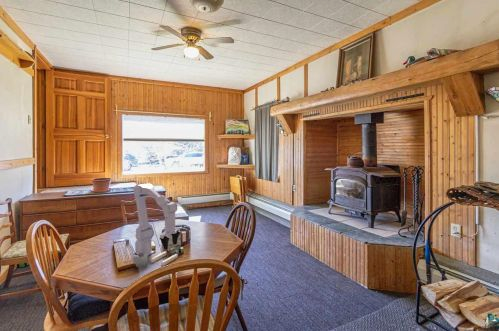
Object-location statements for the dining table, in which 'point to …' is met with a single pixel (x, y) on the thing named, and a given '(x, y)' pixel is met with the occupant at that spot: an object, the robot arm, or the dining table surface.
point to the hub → (141, 260)
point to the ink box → (170, 243)
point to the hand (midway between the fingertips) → (170, 246)
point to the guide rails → (163, 256)
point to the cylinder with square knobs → (176, 250)
